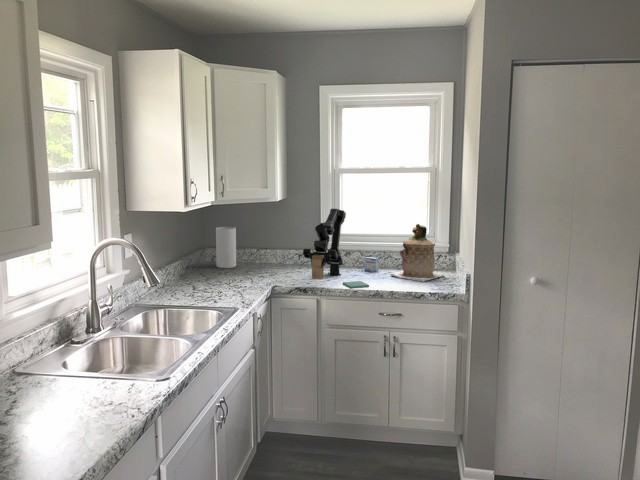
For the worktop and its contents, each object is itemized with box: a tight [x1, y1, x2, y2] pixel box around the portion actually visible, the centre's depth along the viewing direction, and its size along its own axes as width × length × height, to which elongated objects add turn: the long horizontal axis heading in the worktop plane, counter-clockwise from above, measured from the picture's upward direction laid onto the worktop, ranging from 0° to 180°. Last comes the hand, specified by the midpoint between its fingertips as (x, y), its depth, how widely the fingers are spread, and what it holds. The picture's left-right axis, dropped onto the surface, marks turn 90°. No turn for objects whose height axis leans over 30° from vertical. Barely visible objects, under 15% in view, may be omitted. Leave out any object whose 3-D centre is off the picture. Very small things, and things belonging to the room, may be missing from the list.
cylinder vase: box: [215, 226, 237, 269], centre depth 350 cm, size 12×12×25 cm
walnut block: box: [311, 255, 325, 280], centre depth 296 cm, size 5×5×12 cm
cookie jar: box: [389, 223, 445, 283], centre depth 324 cm, size 25×25×32 cm
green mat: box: [342, 280, 370, 289], centre depth 301 cm, size 11×11×1 cm
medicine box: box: [364, 256, 380, 273], centre depth 340 cm, size 8×4×9 cm, turn 62°
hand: (317, 266), depth 295 cm, fingers closed on walnut block, 5 cm apart
